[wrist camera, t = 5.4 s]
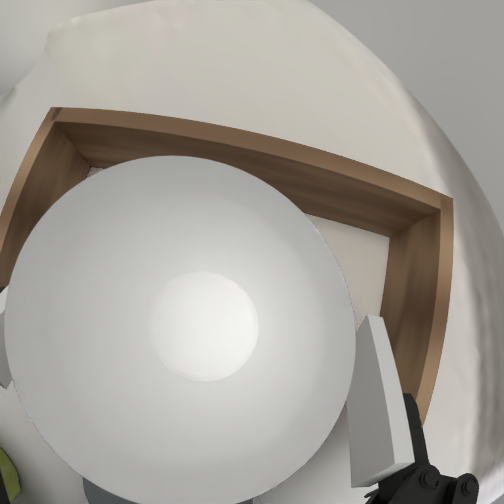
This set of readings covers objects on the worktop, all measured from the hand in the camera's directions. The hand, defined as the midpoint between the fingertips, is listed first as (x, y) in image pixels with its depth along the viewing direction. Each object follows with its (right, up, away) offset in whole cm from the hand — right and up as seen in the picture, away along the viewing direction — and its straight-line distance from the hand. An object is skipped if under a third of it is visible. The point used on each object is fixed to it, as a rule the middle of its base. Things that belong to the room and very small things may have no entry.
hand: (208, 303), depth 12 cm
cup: (-1, -2, +6) cm, 6 cm away
